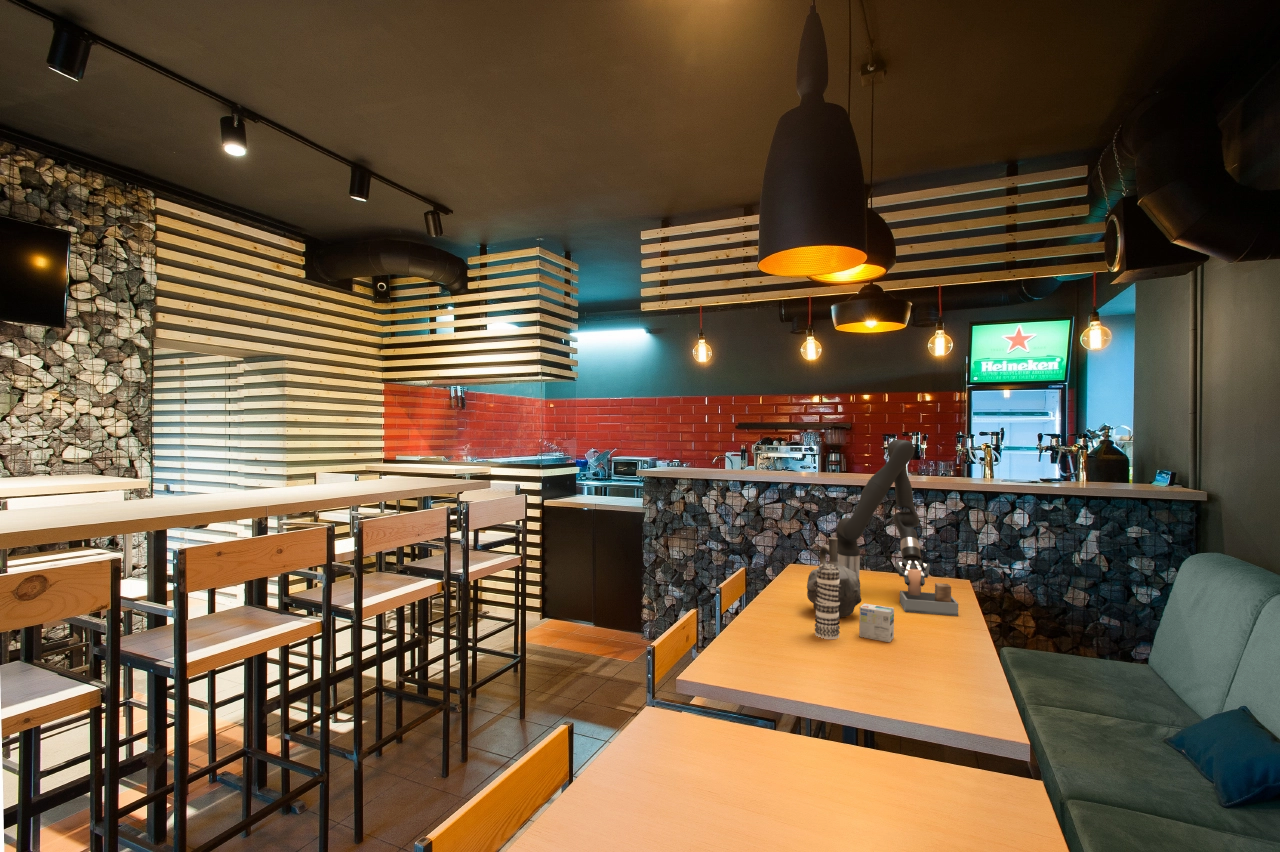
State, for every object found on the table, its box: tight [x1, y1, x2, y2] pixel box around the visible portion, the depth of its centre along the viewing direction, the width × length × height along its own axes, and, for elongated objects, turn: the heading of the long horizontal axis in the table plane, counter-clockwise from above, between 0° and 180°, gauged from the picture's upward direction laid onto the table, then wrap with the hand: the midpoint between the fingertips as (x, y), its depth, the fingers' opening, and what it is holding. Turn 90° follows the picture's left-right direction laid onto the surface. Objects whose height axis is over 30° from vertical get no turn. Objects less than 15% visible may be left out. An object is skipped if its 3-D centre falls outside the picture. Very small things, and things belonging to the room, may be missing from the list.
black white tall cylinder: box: [814, 563, 841, 640], centre depth 229 cm, size 9×9×25 cm
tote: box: [899, 590, 959, 617], centre depth 265 cm, size 20×15×5 cm
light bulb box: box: [858, 602, 895, 643], centre depth 228 cm, size 11×7×11 cm, turn 58°
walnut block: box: [934, 582, 952, 603], centre depth 261 cm, size 5×5×10 cm
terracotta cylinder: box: [907, 569, 922, 595], centre depth 269 cm, size 5×5×10 cm
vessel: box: [806, 537, 862, 618], centre depth 257 cm, size 24×22×30 cm
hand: (915, 584), depth 267 cm, fingers closed on terracotta cylinder, 5 cm apart
